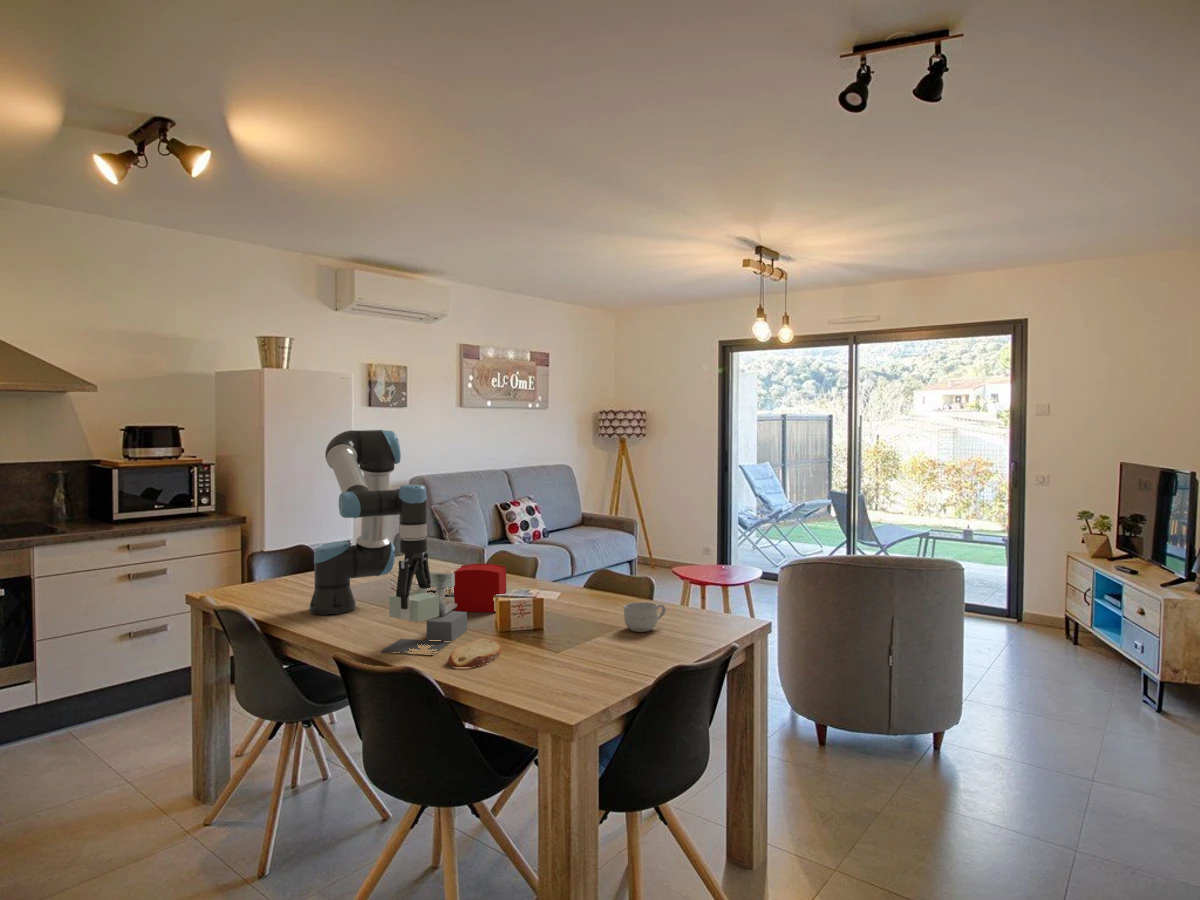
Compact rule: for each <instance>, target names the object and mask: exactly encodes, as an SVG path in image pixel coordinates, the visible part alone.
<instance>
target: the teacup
mask: <svg viewBox="0 0 1200 900" xmlns="http://www.w3.org/2000/svg"><path fill="white" fill-rule="evenodd" d="M659 608H661V609H662V610H661V612H660V613H659V615H658V609H659ZM666 610H667V609H666V607H665V605H664V604H662V603H657V604H656V603H654V602H648V601H647V602H645V601H643V602H642V601H636V602H630V603H626V604H624V605H623V615H624V624H625V626H626V627H627V628H628V629H629V630H630V631H632V632H636V633H637V632H638V633H643V632H650V631H652V630H653V629H654V628H655V626H657V624H658V621H659V620H661V619H662V618H663V616H664V615H665V614H666Z"/></svg>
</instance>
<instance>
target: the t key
mask: <svg viewBox="0 0 1200 900" xmlns="http://www.w3.org/2000/svg"><path fill="white" fill-rule="evenodd" d="M429 573H430V580H431V584H428V585H431V586H430V587H437V591H436V592H437V595H438V596H439V616H444V615H445V614H447V613H448V612H450V611H453V610H455V607H457V603H455V602H449V603H448V604H446V596H445V587H448V588H452V587H454V586H455V573H454V572H441V571H440V572H438V571H429Z"/></svg>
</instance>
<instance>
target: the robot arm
mask: <svg viewBox="0 0 1200 900" xmlns="http://www.w3.org/2000/svg"><path fill="white" fill-rule="evenodd" d="M401 453H402V452H401V447H400V442H399V438H398V436H397V434H396V432H395V431H392V430H385V429H384V430H383V429H377V430H376V429H374V430H373V429H372V430H371V429H369V430H368V429H367V430H365V429H364V430H362V429H361V430H345V431H343V432H340V433H339V434H337V435H336V436H334V437H333V438H332V439H331V440H330V441H329V443H328V444H327V447H326V448H325V456H324V457H325V461H326V463H327V465H328V467H329V468H331V469H332V470H333V473H334V475H335V478H336V480H337V483H338V486H339V487H340V492H341V493H340V494H339V497H338V510H339V514H340V516H341V517H342V518H344V519H349V518H351V519H358V518H361V528H360V529H361V530H360V531H361V532H360V535H359V536H358V537H357V538H356V539H355V540H356V542H355V545H354V544H352V545H351V544H350V542H349V541H335V542H329V543H325V544H323V545H320V546H317V548H315V551H314V556H313V558H314V559H313V563H314V569H313V570H314V591H313V593H312V598H311V599H310V603H309V613H310V612H311V613H314V614H313V615H315V614H322V615H321V616H329V615H328V614H336V615H340V614H339V613H342V614H346V613H345V612H347V613H350V612H352V611H354V610H356V608H357V607H356V606H357V605H356V600H355V596H354V593H353V592H352V589H351V579H358V578H366V577H367V578H368V577H369V578H370V577H380V576H383V575H384V576H385V575H388V574H389V573H391V571H392V569H393V568H394V564H395V559H396V554H395V552H396V551H395V550H396V549H395V548H396V547H395V545H394V543H393V542H391V538H389V537H388V535H387V526H388V524H387V523H388V516H399V537H400V538H401V539H400V541H399V549H400V550H399V551H400V553H402V554H404V559H403V560H399V561H398V575H397V582H396V583H397V585H396V592H395V594H396V596H397V597H401V619H400V620H402V621H409V620H411V597H409V593H410V591H411V589H412V583H413V579H414V575H415V578H416V581H417V585H418V588H417V590H416V592H421V593H427V588H430V586H431V585H428V584H431V580H430V573H429V572H430V566H429V554H428V553H426V552H427V549H428V542H427V541H428V539H427V536H428V532H427V531H428V528H427V527H428V526H427V500H428V496H427V489H426V486H425V485H423V484H404V485H401V486H400V487H399V488H396V489H390V474H391V473H392V472H394V470H395V465H398V464H400V462H401V455H402V454H401ZM427 594H428V593H427ZM349 611H350V612H349ZM311 613H310V614H311Z"/></svg>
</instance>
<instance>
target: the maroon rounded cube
mask: <svg viewBox="0 0 1200 900" xmlns="http://www.w3.org/2000/svg"><path fill="white" fill-rule="evenodd" d="M453 573H455V586H454V596H453V598H454V599H453V600H454V602H453V603H457V607H455V608H454V610H455V611H459V612H467V613H468V612H471V613H472V612H473V613H495V612H494V601H493V596H494V595H496V594H505V593H506V594H507V567H506V566H505V565H500V564H492V563H471V564H464V565H461V566H460V567H459V568H457V569H456V570H454V571H453Z"/></svg>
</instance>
